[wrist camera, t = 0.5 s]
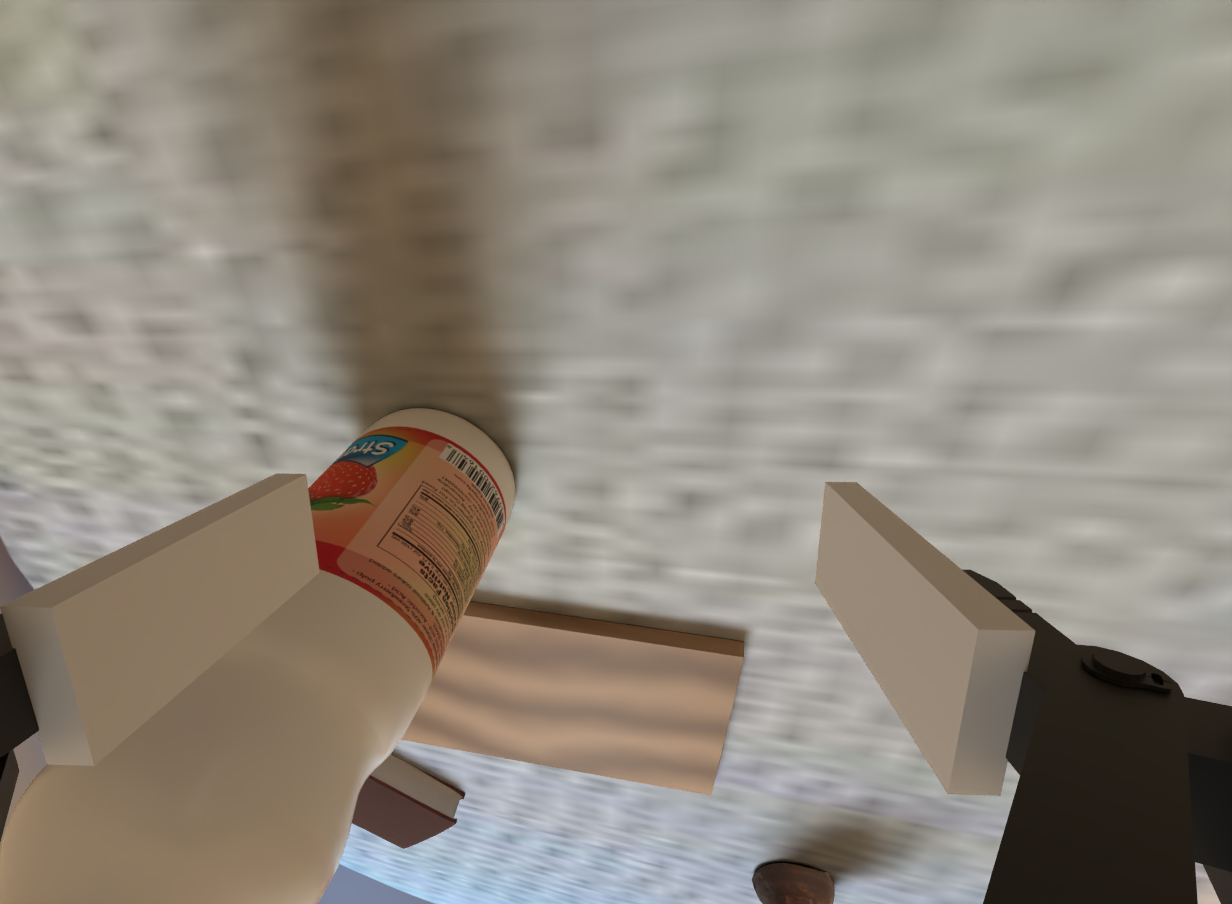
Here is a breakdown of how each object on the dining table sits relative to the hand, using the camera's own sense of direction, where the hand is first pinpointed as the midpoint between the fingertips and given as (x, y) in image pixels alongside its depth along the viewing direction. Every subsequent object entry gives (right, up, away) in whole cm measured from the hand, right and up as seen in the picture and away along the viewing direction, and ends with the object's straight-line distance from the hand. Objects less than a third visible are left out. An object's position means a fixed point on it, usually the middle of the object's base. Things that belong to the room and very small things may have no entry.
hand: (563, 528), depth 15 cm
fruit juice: (-9, +1, +19) cm, 21 cm away
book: (-24, -29, +44) cm, 58 cm away
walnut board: (-8, -16, +30) cm, 35 cm away
